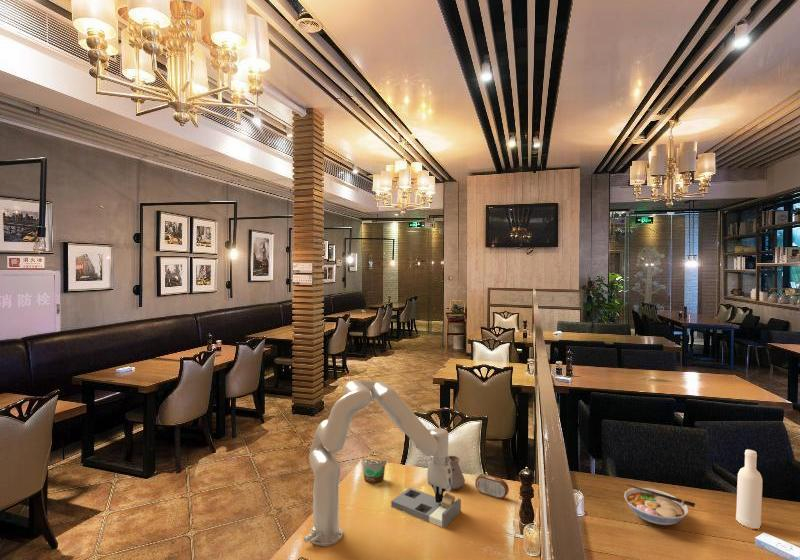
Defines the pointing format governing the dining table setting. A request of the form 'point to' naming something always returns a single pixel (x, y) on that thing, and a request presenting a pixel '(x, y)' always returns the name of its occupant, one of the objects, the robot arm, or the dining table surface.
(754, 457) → the bottle
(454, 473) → the coffee pot
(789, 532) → the dining table surface
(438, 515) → the board
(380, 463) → the food container
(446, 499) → the block
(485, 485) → the tin
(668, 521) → the ramen bowl
